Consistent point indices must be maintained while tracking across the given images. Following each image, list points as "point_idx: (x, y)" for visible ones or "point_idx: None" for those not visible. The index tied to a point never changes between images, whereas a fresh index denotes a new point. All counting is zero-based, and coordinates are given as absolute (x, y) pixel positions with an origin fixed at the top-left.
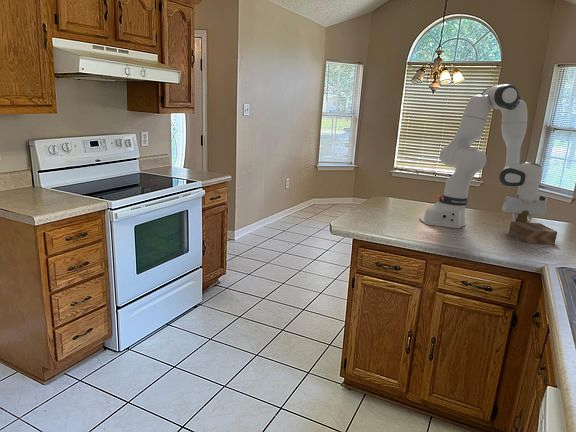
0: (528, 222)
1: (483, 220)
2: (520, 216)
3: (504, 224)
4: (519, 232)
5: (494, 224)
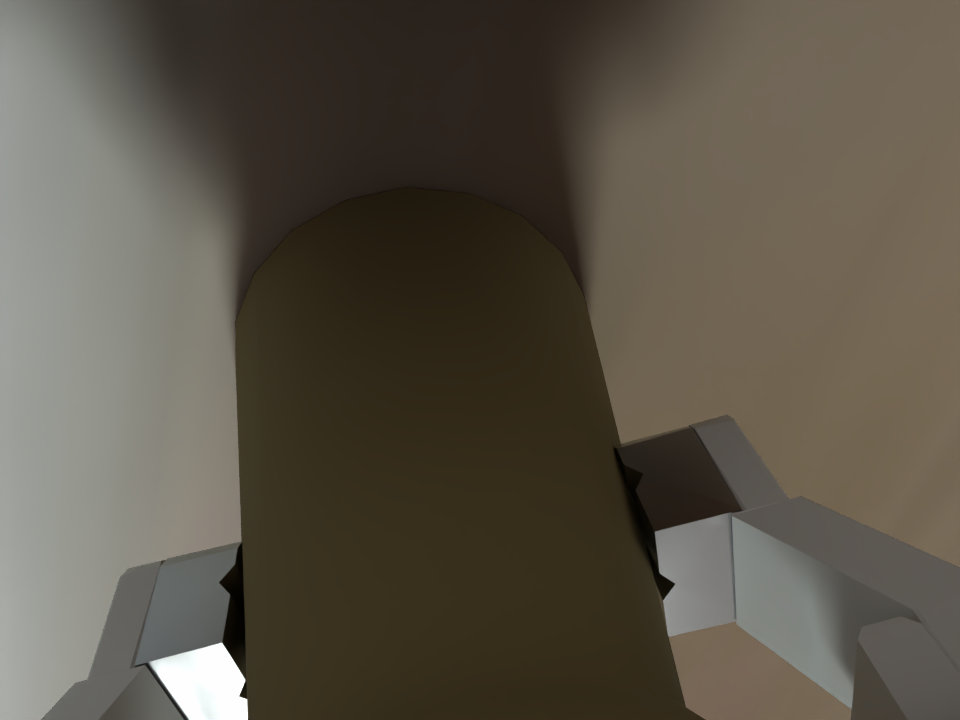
0: (163, 567)
1: None
2: (630, 639)
3: None
4: None
5: None
